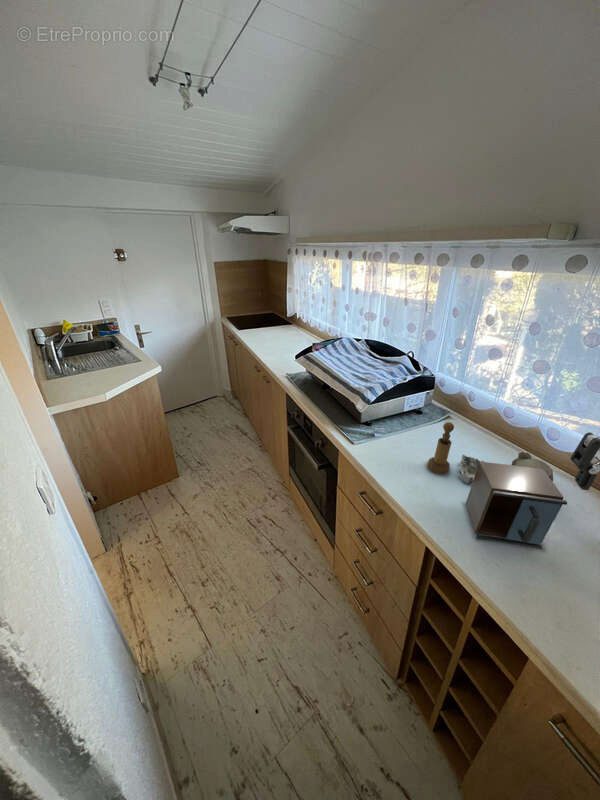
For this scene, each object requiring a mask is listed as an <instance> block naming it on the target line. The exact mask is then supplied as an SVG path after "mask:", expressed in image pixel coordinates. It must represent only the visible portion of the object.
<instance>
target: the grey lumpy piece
mask: <svg viewBox="0 0 600 800" xmlns="http://www.w3.org/2000/svg"><path fill="white" fill-rule="evenodd" d="M480 462H485V461H484V460H480V459H479V458H475V457H471V456H467V455H465V454H462V455H461V458H460V463H459V466H460V470H459V473H460V474H461V475H460V480H461V481H463V482H464V483H465V484H469V483H473V480H474V477H475V474H476V471H477V469H478V466H479V463H480Z"/></svg>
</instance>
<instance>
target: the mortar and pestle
mask: <svg viewBox="0 0 600 800" xmlns="http://www.w3.org/2000/svg"><path fill="white" fill-rule="evenodd" d="M442 428H443V430H444V432H443V433H442V437H440V438H438V440H437V444H436V448H435V452H434V456H432V457H430V458H429V459H428V462H427V469H428V470H429V471H430V472H432V473H434V474H436V475H440V476H441V475H442V476H443V475H447V474H448V473H449V472H450V468H451V464H450V462H449V461H448V456H449V453H450V449H451V446H452V441H451V439H450V438H451V434H450V433H451V432H452V431H454V429H455V425H454V424H453V423H452V422H451V421H446V422H444V423H443V426H442Z"/></svg>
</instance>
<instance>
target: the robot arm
mask: <svg viewBox="0 0 600 800" xmlns="http://www.w3.org/2000/svg"><path fill="white" fill-rule="evenodd" d="M570 461H571V462H572V463H573V464H574V465H575V466H576V467H577V469H578V472H577V474H576V476H575V477H574V481H575V482H576V485H577V486H578V487H579V488H580V489H581V490H583V491H589V490H590V488H591V487H592V485H593V483H594V481H595V480H596V478H597V476H598V473H599V472H600V436H599V435H595V434H594V433H592V432H590V431H589V432H585V434H583V437H582V438H581V440H580V441H579V443H578V444H577V447H576V448H575V449H574V451H573V453H572V454H571V456H570Z"/></svg>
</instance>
